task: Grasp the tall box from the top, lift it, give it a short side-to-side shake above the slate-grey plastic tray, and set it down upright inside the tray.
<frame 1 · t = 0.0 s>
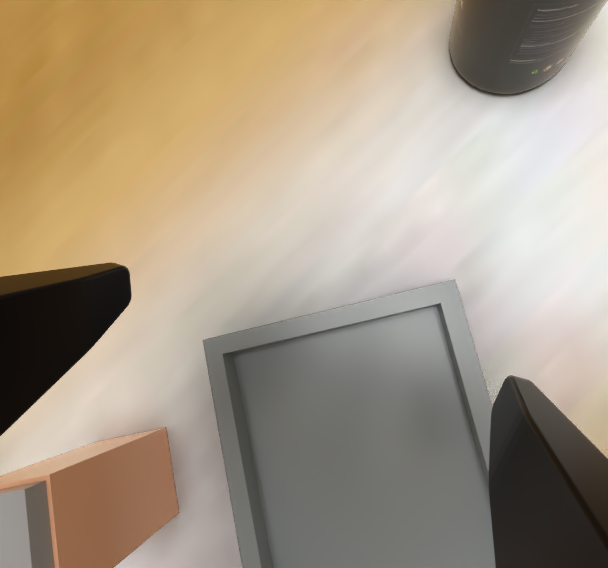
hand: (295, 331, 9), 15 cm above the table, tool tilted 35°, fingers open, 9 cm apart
tall box: (136, 476, 25), on the table
supplement bottle: (506, 48, 24), on the table
tray: (365, 471, 23), on the table
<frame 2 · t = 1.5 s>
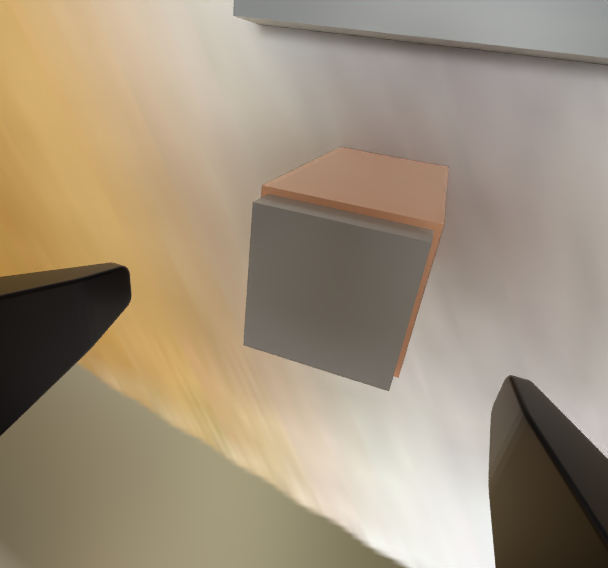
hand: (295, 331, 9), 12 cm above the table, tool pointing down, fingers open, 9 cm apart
tall box: (381, 209, 20), on the table
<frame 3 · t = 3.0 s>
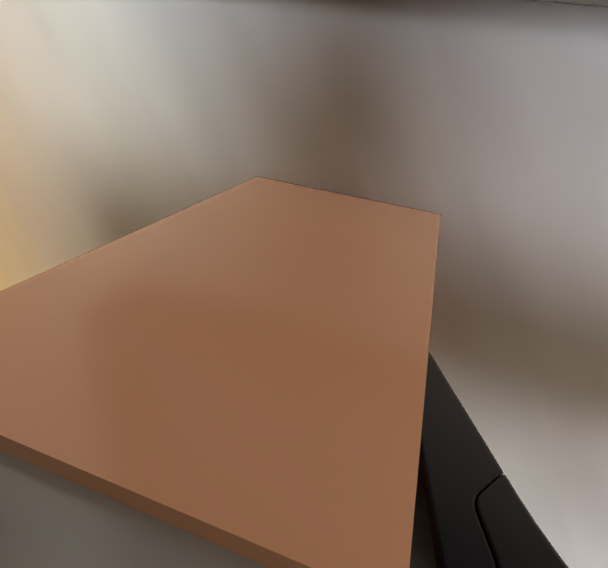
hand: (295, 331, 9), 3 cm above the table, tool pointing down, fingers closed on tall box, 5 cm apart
tall box: (329, 278, 12), on the table, touching gripper
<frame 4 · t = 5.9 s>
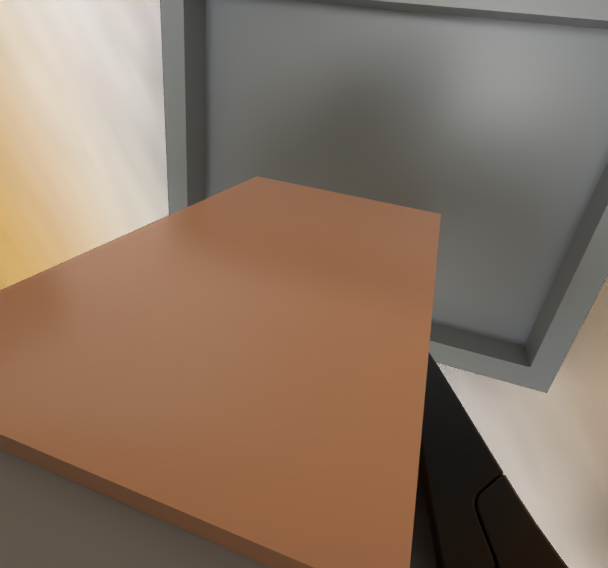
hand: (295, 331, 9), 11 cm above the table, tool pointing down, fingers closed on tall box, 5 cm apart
tall box: (329, 278, 12), point 8 cm above the table, touching gripper
tray: (377, 176, 18), on the table
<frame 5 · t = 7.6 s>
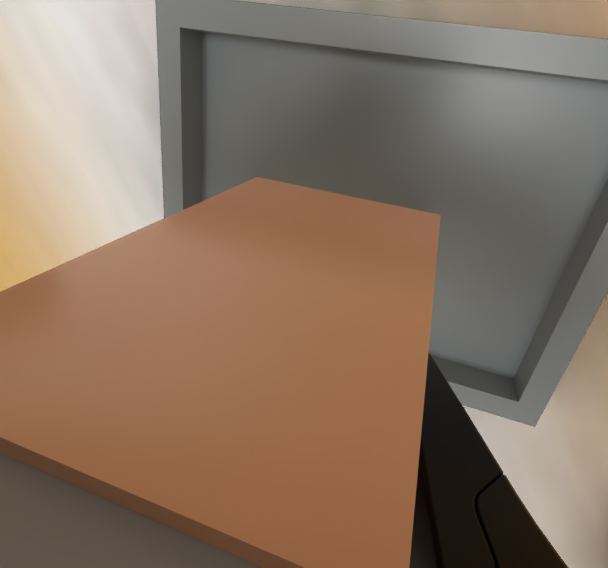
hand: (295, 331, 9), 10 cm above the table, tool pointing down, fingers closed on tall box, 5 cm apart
tall box: (329, 278, 12), point 7 cm above the table, touching gripper
tray: (370, 210, 18), on the table
when the fingers open (5 cm above the table, at t = 8.9 s): tall box stays where it is, resting on tray.
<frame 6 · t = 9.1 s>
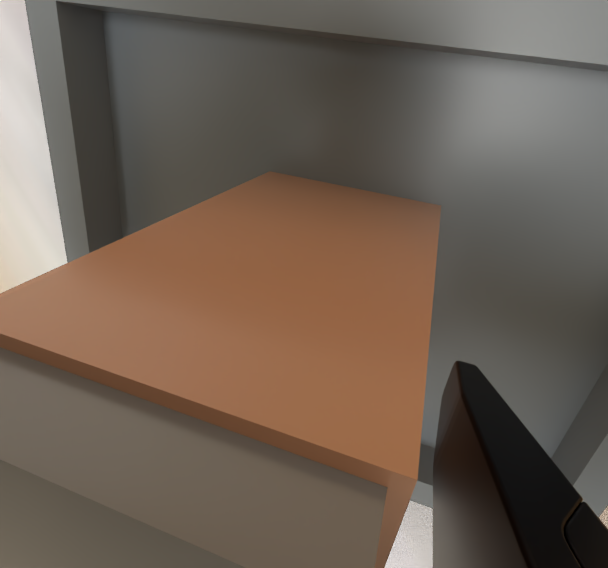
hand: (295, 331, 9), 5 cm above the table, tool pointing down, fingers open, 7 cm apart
tall box: (337, 266, 13), point 1 cm above the table, touching tray
tray: (342, 256, 13), on the table
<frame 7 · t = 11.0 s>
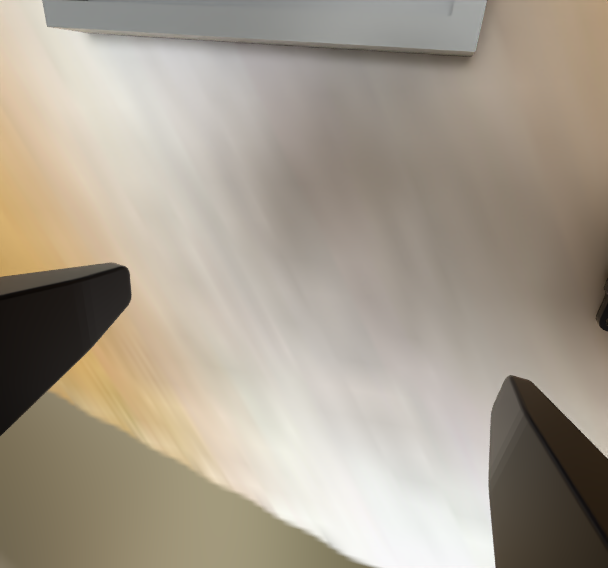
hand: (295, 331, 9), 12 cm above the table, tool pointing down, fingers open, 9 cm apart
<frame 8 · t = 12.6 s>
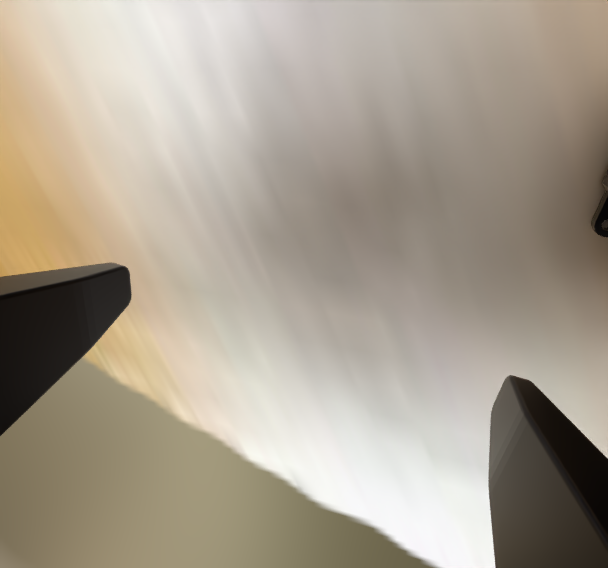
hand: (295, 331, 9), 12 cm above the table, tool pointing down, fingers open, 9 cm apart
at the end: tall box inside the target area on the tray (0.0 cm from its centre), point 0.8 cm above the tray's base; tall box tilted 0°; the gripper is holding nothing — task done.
